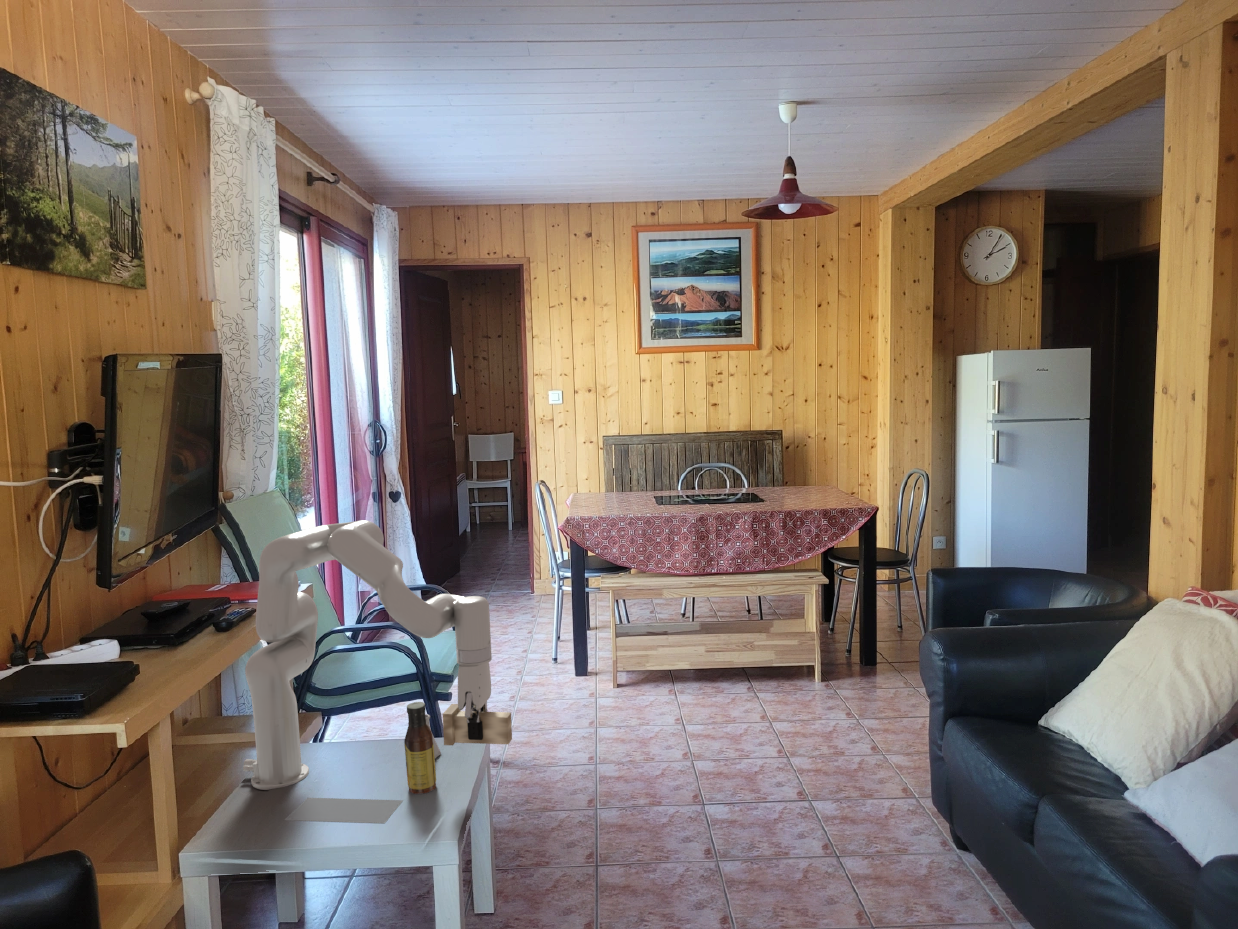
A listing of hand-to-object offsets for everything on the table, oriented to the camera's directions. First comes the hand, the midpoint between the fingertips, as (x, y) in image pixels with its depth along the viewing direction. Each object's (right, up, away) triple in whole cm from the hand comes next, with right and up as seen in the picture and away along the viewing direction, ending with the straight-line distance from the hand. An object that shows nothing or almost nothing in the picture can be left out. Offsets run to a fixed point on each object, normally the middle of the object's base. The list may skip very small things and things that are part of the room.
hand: (478, 735), depth 191 cm
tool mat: (-27, -15, -6) cm, 32 cm away
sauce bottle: (-13, -14, +3) cm, 19 cm away
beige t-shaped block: (0, -1, 0) cm, 1 cm away
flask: (-16, -12, +22) cm, 30 cm away
